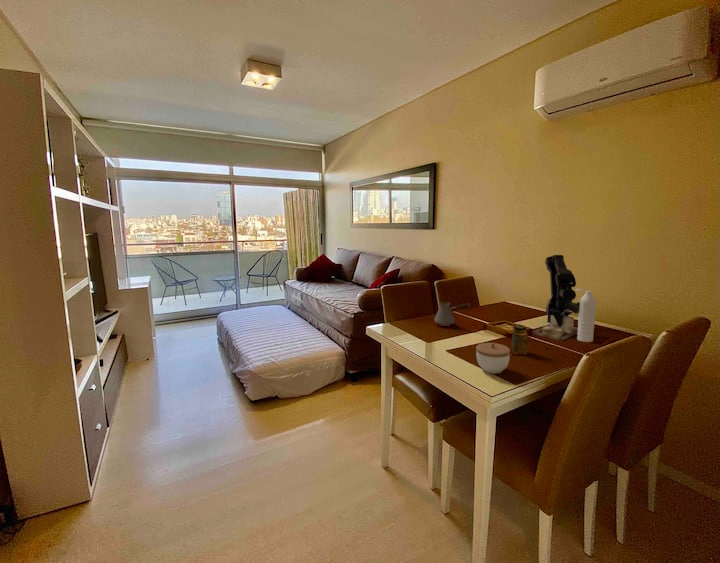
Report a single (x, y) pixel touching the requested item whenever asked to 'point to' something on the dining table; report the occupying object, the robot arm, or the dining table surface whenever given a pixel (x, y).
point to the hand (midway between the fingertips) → (561, 325)
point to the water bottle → (586, 317)
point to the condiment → (519, 339)
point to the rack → (554, 336)
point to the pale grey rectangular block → (563, 323)
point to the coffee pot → (446, 313)
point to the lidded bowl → (492, 357)
